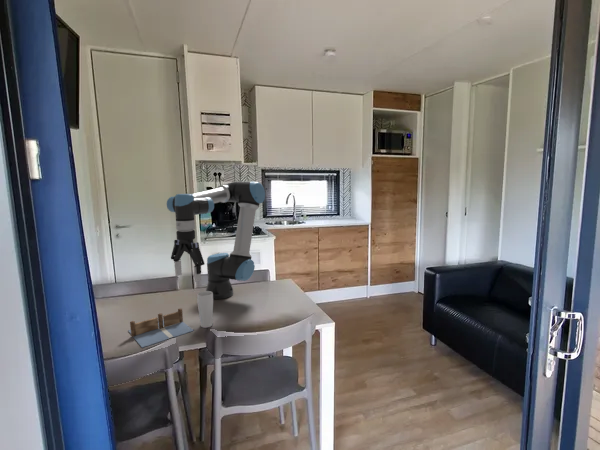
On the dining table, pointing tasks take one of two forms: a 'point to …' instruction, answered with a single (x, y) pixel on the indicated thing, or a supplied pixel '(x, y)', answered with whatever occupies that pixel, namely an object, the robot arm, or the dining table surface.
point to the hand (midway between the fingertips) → (188, 278)
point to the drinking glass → (205, 308)
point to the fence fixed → (173, 318)
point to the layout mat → (162, 334)
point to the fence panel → (146, 325)
